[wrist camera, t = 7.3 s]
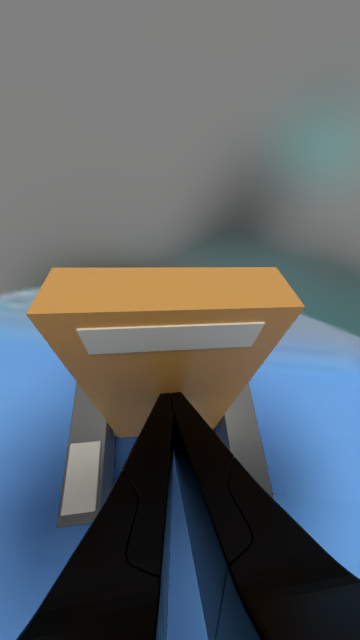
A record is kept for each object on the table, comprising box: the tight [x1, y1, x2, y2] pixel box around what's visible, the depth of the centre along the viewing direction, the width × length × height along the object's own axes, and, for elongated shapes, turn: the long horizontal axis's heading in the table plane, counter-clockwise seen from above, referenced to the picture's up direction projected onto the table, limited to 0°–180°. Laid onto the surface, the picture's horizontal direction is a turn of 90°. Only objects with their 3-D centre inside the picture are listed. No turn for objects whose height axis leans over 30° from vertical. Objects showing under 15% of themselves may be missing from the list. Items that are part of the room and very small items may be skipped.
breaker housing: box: [56, 383, 273, 528], centre depth 14 cm, size 10×11×3 cm
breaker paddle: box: [26, 267, 305, 438], centre depth 9 cm, size 2×6×11 cm, turn 94°
